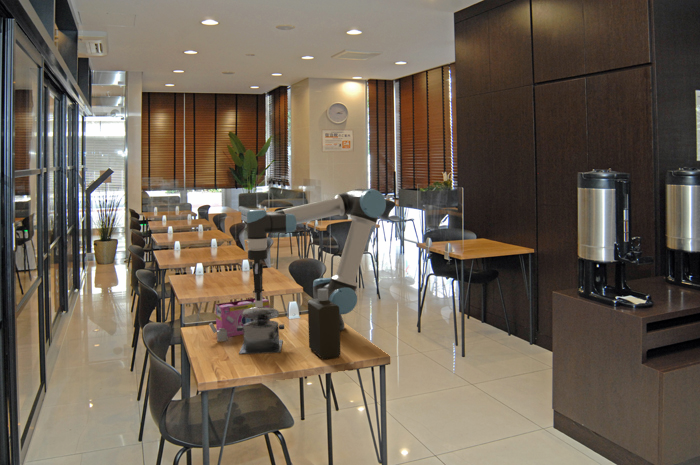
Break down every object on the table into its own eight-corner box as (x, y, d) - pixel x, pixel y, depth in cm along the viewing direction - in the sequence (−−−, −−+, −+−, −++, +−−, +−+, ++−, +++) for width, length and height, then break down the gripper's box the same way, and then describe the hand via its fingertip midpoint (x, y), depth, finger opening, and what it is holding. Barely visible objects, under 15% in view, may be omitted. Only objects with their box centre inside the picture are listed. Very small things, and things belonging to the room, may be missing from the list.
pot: (286, 339, 234) (285, 317, 233) (283, 352, 216) (282, 329, 215) (241, 340, 232) (240, 319, 232) (235, 354, 215) (234, 330, 214)
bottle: (321, 360, 205) (319, 294, 203) (308, 348, 220) (306, 286, 217) (341, 357, 208) (340, 292, 206) (327, 346, 223) (325, 284, 221)
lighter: (227, 339, 235) (226, 321, 234) (227, 340, 233) (226, 322, 232) (210, 341, 233) (209, 322, 232) (210, 342, 231) (209, 323, 231)
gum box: (266, 325, 257) (265, 296, 255) (273, 329, 250) (272, 299, 249) (216, 334, 244) (214, 303, 242) (222, 338, 237) (221, 307, 236)
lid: (280, 319, 230) (280, 312, 232) (277, 309, 217) (277, 301, 218) (245, 320, 229) (245, 313, 231) (240, 310, 216) (240, 302, 217)
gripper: (249, 247, 224) (251, 304, 226) (245, 251, 211) (247, 312, 213) (268, 246, 224) (270, 304, 227) (265, 251, 211) (267, 311, 214)
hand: (259, 308), depth 220 cm, fingers closed
